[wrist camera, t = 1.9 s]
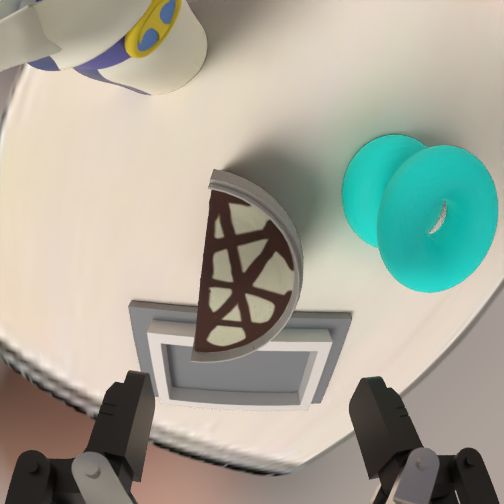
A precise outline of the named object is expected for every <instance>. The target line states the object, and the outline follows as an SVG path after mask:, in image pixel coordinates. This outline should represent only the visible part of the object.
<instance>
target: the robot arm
mask: <svg viewBox="0 0 504 504" xmlns="http://www.w3.org/2000/svg"><path fill="white" fill-rule="evenodd" d="M154 410H155V396H154V392H153V387H152V383H151V378H150V374H149V373H145V372H138V371H132V370H129V371H128V373H127V375H126V378H125V381H124V383H119V382H115V383H114V384H113V385H112V386H111V387H110V388H109V389H108V390H107V391H106V394H105V396H104V399H103V402H102V405H101V407H100V410H99V414H98V416H97V419H96V422H95V425H94V427H93V430H92V433H91V436H90V440H89V443H88V446H87V448H86V449H85V451H84V452H83V453H81V454H80V455H78V456H77V457H75V458H72V459H47V458H46V457H45V456H44V455H43V454H42V453H41V452H38V451H35V450H29V451H25V452H23V453H22V454H21V455H20V456H19V458H18V460H17V463H16V466H15V469H14V472H13V475H12V479H11V483H10V486H9V490H8V494H7V497H6V502H5V504H138V502H137V501H136V499H135V498H134V496H133V495H132V493H131V491H130V490H131V484H132V481H136V482H141V477H142V472H143V466H144V461H145V455H146V450H147V445H148V440H149V435H150V430H151V425H152V420H153V415H154ZM349 414H350V417H351V421H352V424H353V427H354V430H355V433H356V437H357V440H358V443H359V446H360V449H361V453H362V456H363V460H364V463H365V466H366V469H367V473H368V476H369V479H374V478H378V477H379V479H380V483H379V485H378V487H377V489H376V491H375V493H374V495H373V497H372V499H371V501H370V503H369V504H459V503H458V500H457V497H456V494H455V490H456V491H457V494H458V498H459V501H460V504H499V501H498V498H497V495H496V493H495V490H494V487H493V484H492V482H491V479H490V476H489V474H488V471H487V469H486V467H485V464H484V462H483V459H482V457H481V455H480V453H479V452H478V451H477V450H475V449H473V448H464V449H462V450H461V451H460V452H459V453H458V454H457V455H436V453H435V452H434V451H432V450H431V449H429V448H424V447H423V445H422V443H421V441H420V439H419V436H418V434H417V432H416V430H415V427H414V425H413V423H412V421H411V418H410V416H408V412H407V410H406V408H405V406H404V403H403V401H402V399H401V397H400V395H398V394H397V393H396V392H395V391H394V390H393V389H392V388H387V387H386V385H385V382H384V380H383V379H382V377H380V376H377V377H367V378H362V379H361V380H360V382H359V384H358V386H357V388H356V390H355V392H354V394H353V396H352V398H351V400H350V403H349Z"/></svg>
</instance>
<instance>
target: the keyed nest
mask: <svg viewBox="0 0 504 504" xmlns="http://www.w3.org/2000/svg"><path fill="white" fill-rule="evenodd" d="M128 307H129V313H130V319H131V325H132V330H133V336H134V341H135V346H136V351H137V355H138V360H139V364H140V369H141V372H145V373H149V374H150V378H151V383H152V387H153V392H154V396H155V397H159V399H160V404H164V405H172V406H181V407H190V408H201V409H214V410H232V411H305V410H308V409H309V407H310V404H313V403H321V401H322V399H323V396H324V394H325V391H326V389H327V386H328V384H329V381H330V379H331V376H332V374H333V371H334V369H335V366H336V363H337V361H338V358H339V355H340V352H341V350H342V347H343V344H344V341H345V338H346V335H347V332H348V330H349V327H350V324H351V320H352V318H351V316H350V313H315V312H293V313H292V316H291V317H290V319H289V320H288V322H287V324H286V325H285V327H284V328H283V329H282V330H281V331H280V332H279V334H278V335H277V336H276V337H275V338H273V339H272V340H271V341H270V342H269V343H267V344H266V345H265V346H263V347H261V348H260V349H258V350H257V351H255V352H253V353H250V354H248V355H246V356H243V357H240V358H237V359H233V360H230V361H223V362H216V363H199V362H190V361H191V354H192V348H193V342H194V336H195V331H196V321H197V311H198V307H193V306H181V305H170V304H159V303H149V302H139V301H131V302H130V304H129V306H128Z"/></svg>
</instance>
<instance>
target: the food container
mask: <svg viewBox="0 0 504 504" xmlns="http://www.w3.org/2000/svg"><path fill="white" fill-rule="evenodd" d="M208 189H212V191H211V198H210V201H209V216H208V223H207V230H206V238H205V247H204V254H203V264H202V273H201V278H200V291H199V302H198V311H197V321H196V331H195V336H194V342H193V348H192V354H191V361H190V362H199V363H216V362H223V361H230V360H233V359H237V358H240V357H243V356H246V355H248V354H250V353H253V352H255V351H257V350H258V349H260V348H261V347H263V346H265V345H266V344H267V343H269V342H270V341H271V340H272V339H273V338H275V337H276V336H277V335H278V334H279V332H280V331H281V330H282V329H283V328H284V327H285V325H286V324H287V322H288V320H289V319H290V317H291V316H292V313H293V312H294V310H295V307H296V305H297V302H298V300H299V298H300V293H301V288H302V282H303V252H302V246H301V241H300V239H299V236H298V233H297V230H296V228H295V226H294V224H293V222H292V221H291V219H290V217H289V216H288V214H287V212H286V211H285V210H284V209H283V208H282V206H281V205H280V204H279V203H278V202H277V201H276V200H275V199H274V198H273V197H272V196H271V195H270V194H268V193H267V192H266V191H265V190H264V189H262V188H261V187H259V186H257V185H256V184H254V183H252V182H251V181H249V180H247V179H245V178H242V177H240V176H237V175H235V174H232V173H230V172H225V171H221V170H216V169H214V170H213V173H212V176H211V179H210V184H209V186H208Z"/></svg>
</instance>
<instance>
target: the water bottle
mask: <svg viewBox="0 0 504 504" xmlns="http://www.w3.org/2000/svg"><path fill="white" fill-rule="evenodd" d="M207 46H208V43H207V37H206V33H205V31H204V29H203V27H202V25H201V24H200V23H199V21H198V20H197V18H196V17H195V15H194V14H193V12H192V10H191V9H190V7H189V5H188V3H187V1H186V0H0V71H3V70H5V69H8V68H10V67H13V66H16V65H20V64H24V63H28V64H29V65H31V66H33V67H35V68H37V69H41V70H46V71H60V70H66V69H70V68H73V69H75V70H76V71H77V72H79V73H80V74H82V75H84V76H87V77H89V78H92V79H95V80H99V81H103V82H107V83H111V84H115V85H119V86H122V87H125V88H128V89H130V90H133V91H135V92H138V93H141V94H145V95H161V94H166V93H169V92H172V91H174V90H177V89H179V88H180V87H182V86H184V85H185V84H187V83H188V82H189V81H190V80H191V79H192V78H193V77H194V76H195V75H196V74H197V73H198V72H199V70H200V69H201V67H202V65H203V63H204V61H205V58H206V54H207Z"/></svg>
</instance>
